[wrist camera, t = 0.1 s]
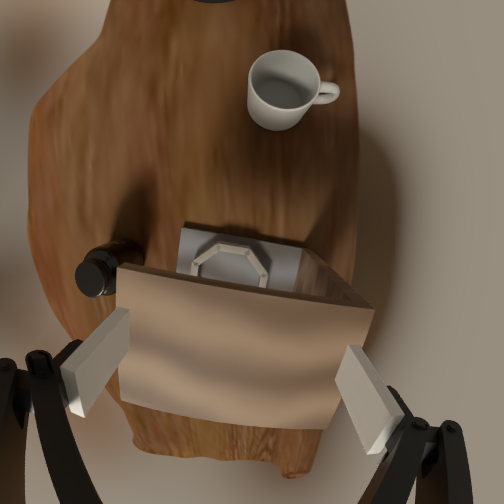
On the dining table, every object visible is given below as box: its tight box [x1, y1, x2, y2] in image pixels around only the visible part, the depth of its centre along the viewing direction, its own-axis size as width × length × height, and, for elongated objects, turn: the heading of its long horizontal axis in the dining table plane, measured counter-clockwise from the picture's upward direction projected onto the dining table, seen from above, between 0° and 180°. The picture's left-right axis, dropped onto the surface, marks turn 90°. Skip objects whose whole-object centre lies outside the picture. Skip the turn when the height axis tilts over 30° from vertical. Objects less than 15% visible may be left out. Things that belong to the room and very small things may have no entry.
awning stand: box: [116, 227, 375, 429], centre depth 32 cm, size 13×20×24 cm, turn 80°
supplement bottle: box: [75, 238, 144, 298], centre depth 37 cm, size 7×7×12 cm
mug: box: [247, 50, 340, 131], centre depth 33 cm, size 12×8×11 cm
